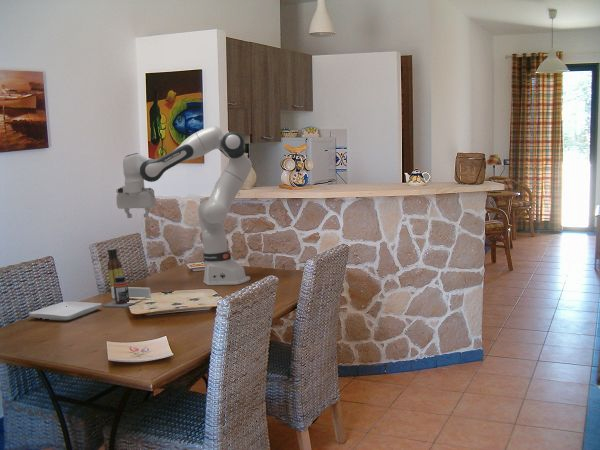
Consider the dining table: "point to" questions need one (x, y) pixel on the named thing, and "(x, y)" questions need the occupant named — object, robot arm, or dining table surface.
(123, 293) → the supplement bottle
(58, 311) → the salad plate
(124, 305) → the rubber mat
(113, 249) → the sauce bottle
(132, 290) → the acrylic wall
